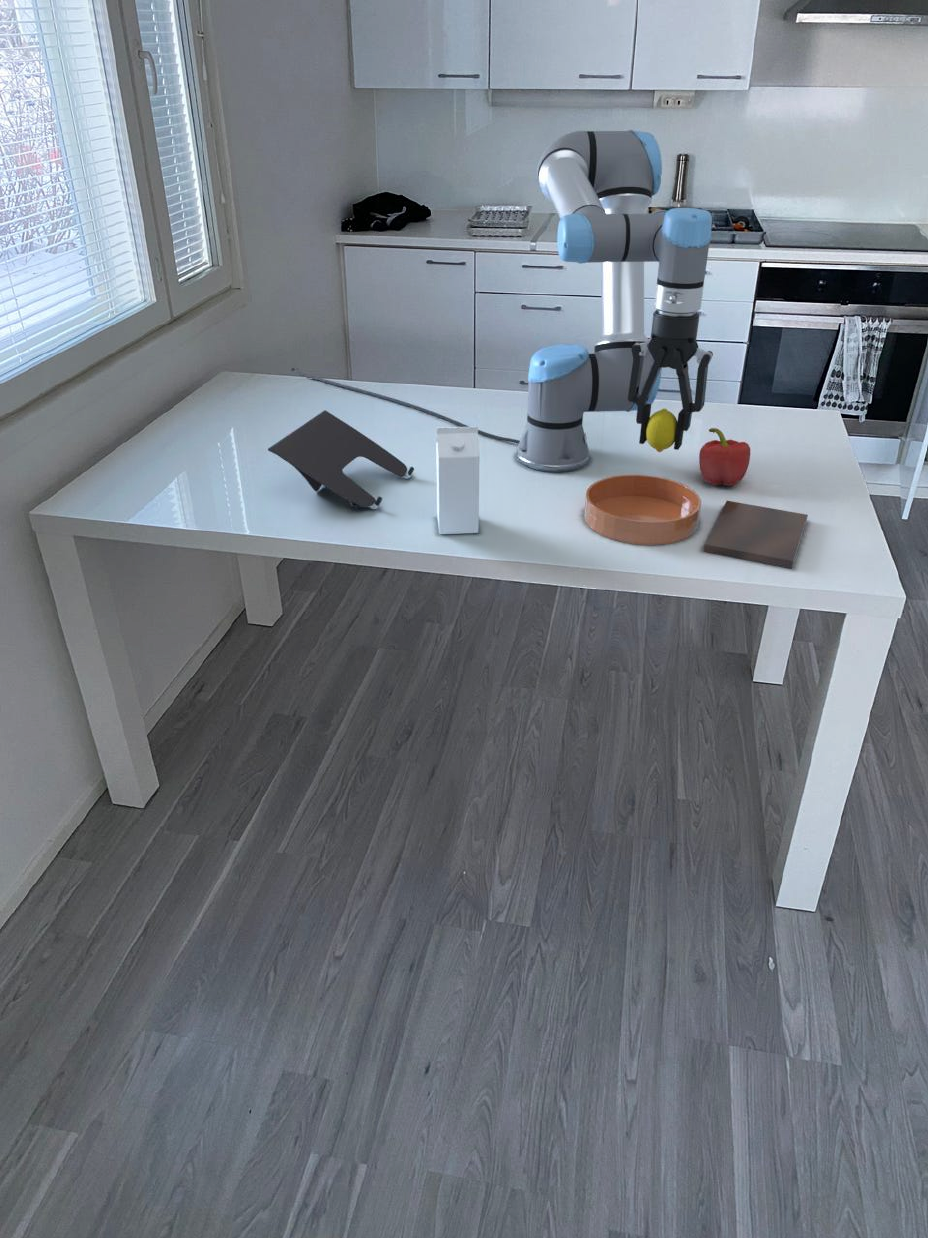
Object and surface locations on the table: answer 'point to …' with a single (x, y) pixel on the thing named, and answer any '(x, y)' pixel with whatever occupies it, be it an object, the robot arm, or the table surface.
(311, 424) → the laptop tray
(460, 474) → the milk carton
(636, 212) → the robot arm
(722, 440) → the vegetable
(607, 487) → the basin
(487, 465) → the table surface
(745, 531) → the board
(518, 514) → the table surface
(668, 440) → the lemon
